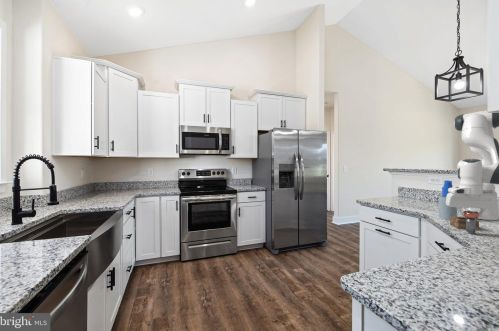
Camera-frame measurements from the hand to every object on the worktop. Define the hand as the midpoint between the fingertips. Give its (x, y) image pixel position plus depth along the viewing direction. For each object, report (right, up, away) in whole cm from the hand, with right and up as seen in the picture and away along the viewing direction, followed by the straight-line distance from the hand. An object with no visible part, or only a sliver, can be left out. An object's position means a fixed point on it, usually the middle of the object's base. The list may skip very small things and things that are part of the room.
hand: (470, 216), depth 118 cm
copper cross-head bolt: (0, -8, 0) cm, 8 cm away
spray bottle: (+14, -8, +29) cm, 33 cm away
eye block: (+6, -9, +11) cm, 15 cm away
